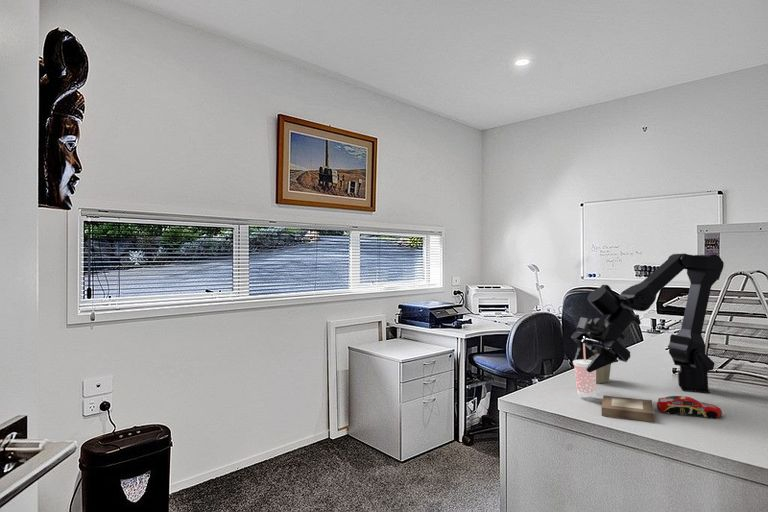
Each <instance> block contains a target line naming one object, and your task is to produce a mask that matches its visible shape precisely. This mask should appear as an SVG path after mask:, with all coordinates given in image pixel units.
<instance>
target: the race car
mask: <svg viewBox="0 0 768 512" xmlns="http://www.w3.org/2000/svg"><path fill="white" fill-rule="evenodd" d="M656 408H657V410H658V411H660V412H662V413H666V414H669V415H673V416H674V415H675V416H677V415H679V416H680V415H681V416H689V417H690V416H692V417H702V418H708V419H713V420H714V419H715V420H716V418H721V417H722V416H723V411H722V409H721V408H720V407H719V406H717V405H714V404H712V403H708V402H703V401H699V400H698V399H697V400H696V399H695V398H692V397H690V396H684V395H670V396H666V397H659V398H658V400H657V402H656Z"/></svg>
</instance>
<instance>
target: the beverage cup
mask: <svg viewBox="0 0 768 512" xmlns="http://www.w3.org/2000/svg"><path fill="white" fill-rule="evenodd" d="M583 353H584V359H579V360H574V359H573V360H572V365H573V364H574V366H573V367H574V374H575V383H576V390H577V391H576V392H577V395H578V396H580V397H586V398H587V397H588V398H589V397H591V398H592V397H596V395H597V383H596V370H595V371H592V372H590V373H589V372H588V371H587V370H586V369H587V367H588V366H589V364H590V362H591V361H592V360H586V355H585V343H583Z"/></svg>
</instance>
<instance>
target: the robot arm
mask: <svg viewBox="0 0 768 512" xmlns="http://www.w3.org/2000/svg"><path fill="white" fill-rule="evenodd" d="M724 264H725V263H724V261H723V259H722V258H721V256H719V255H717V254H715V253H713V254H712V253H711V254H695V255H694V254H687V253H672V254H671V255H669V256H668V258H667V259H666V260H665V261H664V262H663V263H662V264H661V265H660V266H658V267H657V268H656V269H655V270H654V271H653V272H651V273H650V274H649V275H648V276H647V277H646V278H645V279H644V280H643V281H641V282H638V283H637V284H633V285H631V286H629V287H627V288H626V289H624V290H622V291H621V293H620V294H616V293H615V291H613V290H612V288H611V287H610V285H609V284H602V285H601V286H600V287H597V288H596V289H594V290H593V291H591V292H590V293H589V294H588V296H587V297H586V299H587V301H588V302H589V304H590V305H591V306H592V307H593V308H595V309H596V311H598V312H599V313H600V314H601V315H602V316H607V315H608V316H607V317H606V318H605V319H603V318H600V317H595V318H594V319H592V318H587V317H581V316H580V318H579V320H578V323H577V326H576V328H577V329H579V330H583V331H585V332H582V331H574V332H573V333H572V335H571V336H570V337H571V339H572V340H573V341H574V342H575V343H576V346H577V349H576V353H575V356H574V359H573V361H574V360H579V359H584V353H583V343H585V355H586V360H587V359H589V358H590V357H592V356H593V355H594V353H593V352H592V351H595V349H596V351H597V353H596V355H595V356H594V358H593V359H592V361H591V362H590V364H589V366H588V367H587V369H586V370H587V371H588V372H589V373H590V372H592V371H595V370H597V369H599V368H601V367H604V366H606V365H609V364H611V365H612V364H615V363H618V362H619V361H621V362H624V363H627V362H628V361H629V359H630V358H631V351H630V350H629V349H628V348H627V347H625V345H624V344H623V343H621V341H620V340H624V339H625V338H626V336H625V335H624V333H625V332H626V331H627V329H628V328H629V327H630V326H631V325H637V326H640V325H641V319H640V315H639V314H636V313H633V312H632V311H636V312H645V311H647V310H649V309H650V308H651V307H652V305H653V304H654V303H655V301H656V299H657V294H658V293H659V292H660V291H661V290H662V289H664V288H665V286H667V285H668V284H669V283H670V282H672V280H674V279H675V278H676V277H677V276H678V275H679V274H680V273H681V272H682V271H684V270H686V275H687V277H688V280H689V281H690V285H689V290H688V293H687V298H686V304H685V309H684V314H683V319H682V322H681V328H680V331H678V332H677V334H674V333H672V334H671V335H670V336H669V344H668V345H667V348H668V353H669V356H671V358H672V361H673V364H674V365H675V366H679V370H678V371H677V380H678V381H677V382H678V383H677V385H678V387H679V388H680V389H681V391H686V392H687V391H688V392H697V393H706V394H707V393H710V389H709V376H708V375H709V374H708V373H709V372H710V371H713V370H714V367H715V364H716V363H715V361H713V360H712V359H711V358H710V357H709V356H708V354H706V343H705V341H704V339H703V335H702V333H703V327H704V322H705V318H706V313H707V309H708V304H709V299H710V294H711V290H712V286H713V285H714V284H715V283H716V282H717V281H718V280H719V279H720V278H721V274H722V272H723V270H724V266H725V265H724ZM586 332H587V333H586ZM572 366H573V367H574V364H573V363H572Z"/></svg>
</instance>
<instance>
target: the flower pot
mask: <svg viewBox="0 0 768 512" xmlns="http://www.w3.org/2000/svg"><path fill="white" fill-rule="evenodd" d="M592 352H593V353H594V355H593V356H592V357H590V358H589V359H587V360H592V359H593V358H594V356H595V355H596V353H597V350H593V351H592ZM611 366H612V363H611V364H609V365H606V366H604V367H601V368H599V369H597V370H596V384H605V383H609V382H610V374H611Z"/></svg>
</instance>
